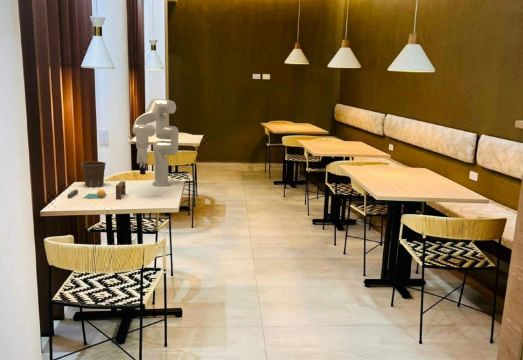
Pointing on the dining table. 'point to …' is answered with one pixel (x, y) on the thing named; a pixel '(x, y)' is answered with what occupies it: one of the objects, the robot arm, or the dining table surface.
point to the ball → (101, 193)
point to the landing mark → (94, 196)
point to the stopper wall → (73, 193)
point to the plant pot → (93, 173)
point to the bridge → (120, 189)
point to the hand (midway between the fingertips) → (142, 174)
